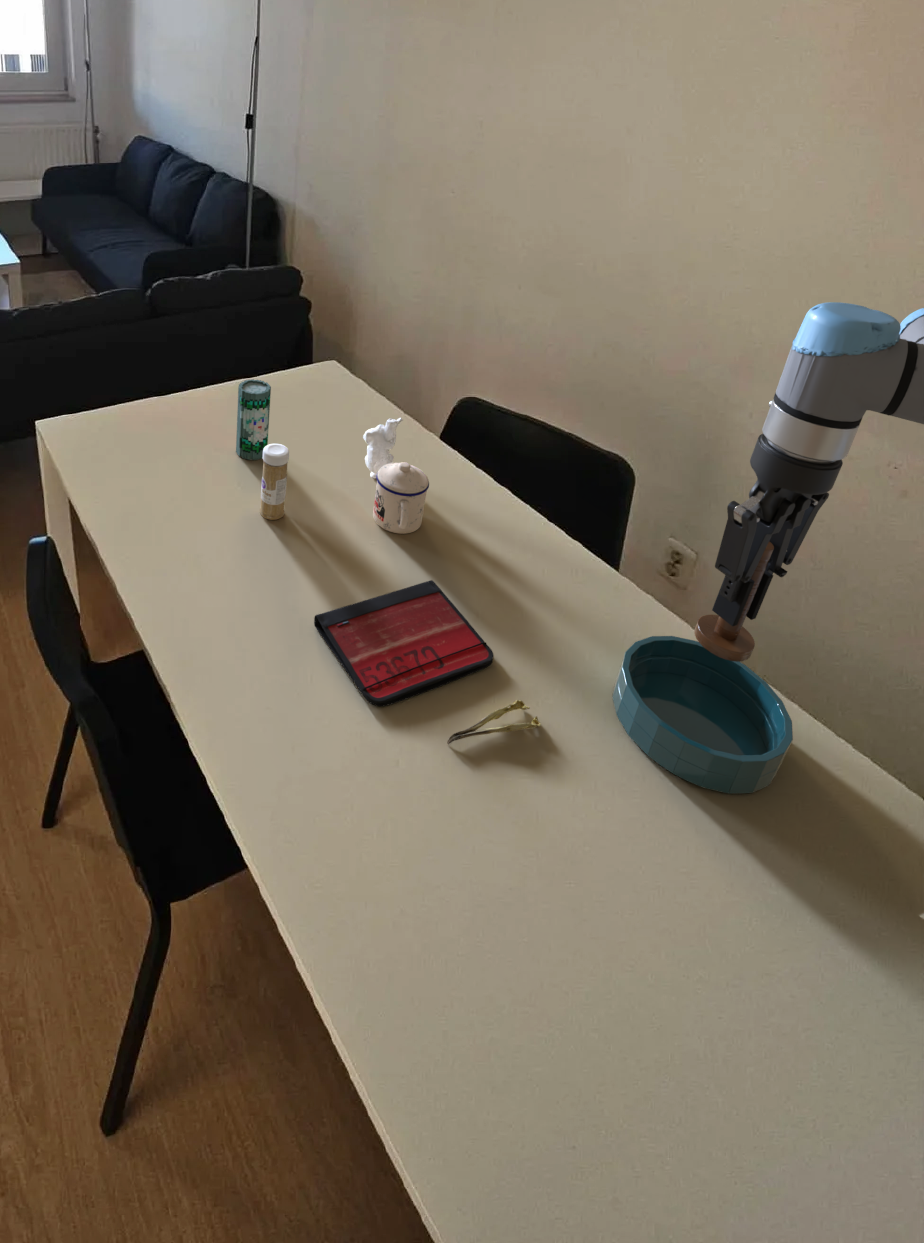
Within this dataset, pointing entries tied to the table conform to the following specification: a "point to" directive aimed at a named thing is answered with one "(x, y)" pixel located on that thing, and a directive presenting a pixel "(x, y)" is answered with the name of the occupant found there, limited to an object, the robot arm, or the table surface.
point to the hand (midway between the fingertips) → (733, 614)
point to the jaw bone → (495, 715)
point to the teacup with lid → (400, 497)
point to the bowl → (701, 715)
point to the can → (252, 418)
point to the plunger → (723, 636)
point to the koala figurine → (380, 445)
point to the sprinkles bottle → (274, 481)
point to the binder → (403, 643)
